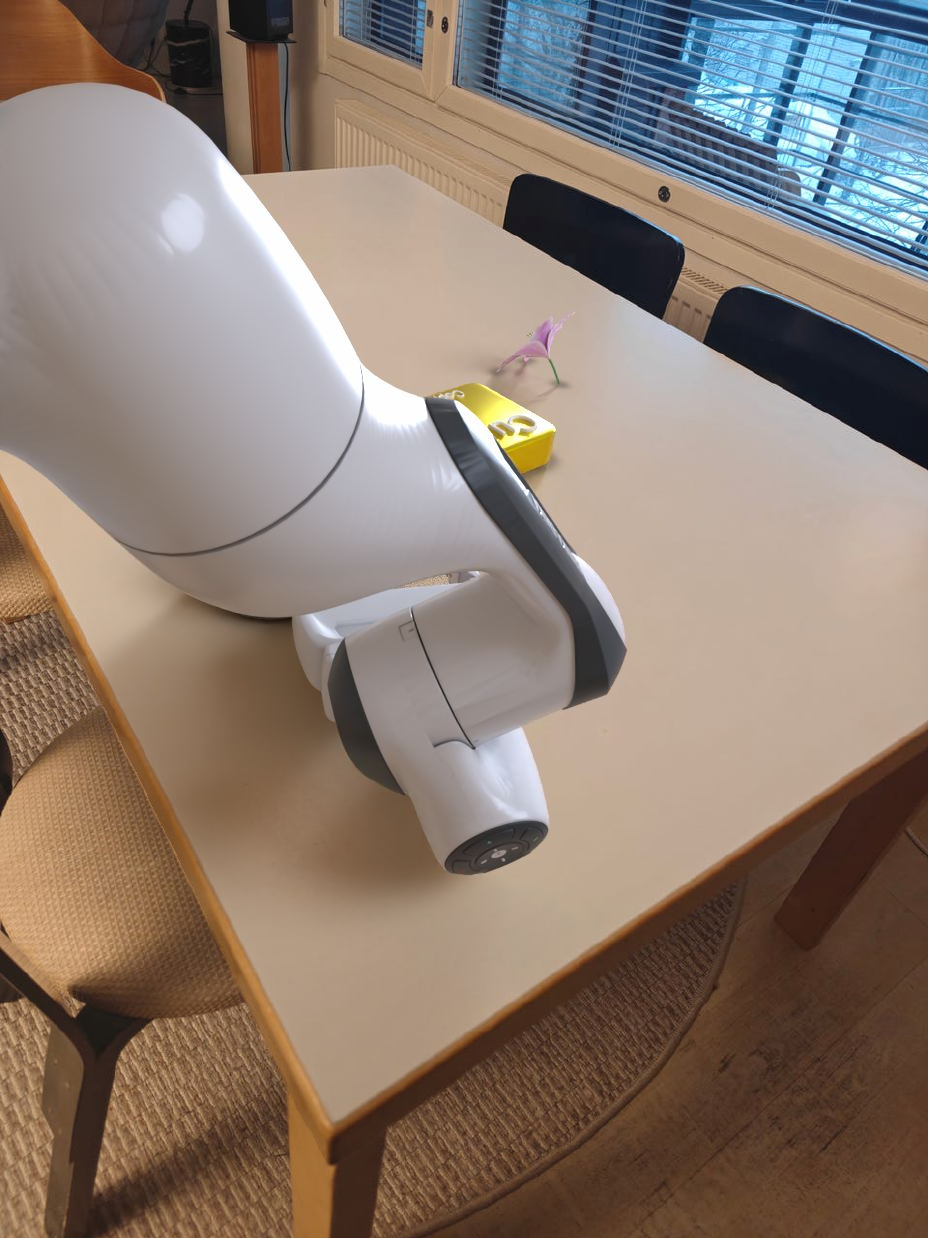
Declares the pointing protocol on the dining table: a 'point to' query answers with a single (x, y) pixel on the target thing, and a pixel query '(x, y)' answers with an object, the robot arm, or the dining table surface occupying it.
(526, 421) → the element tile
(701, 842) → the dining table surface
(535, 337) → the lily
